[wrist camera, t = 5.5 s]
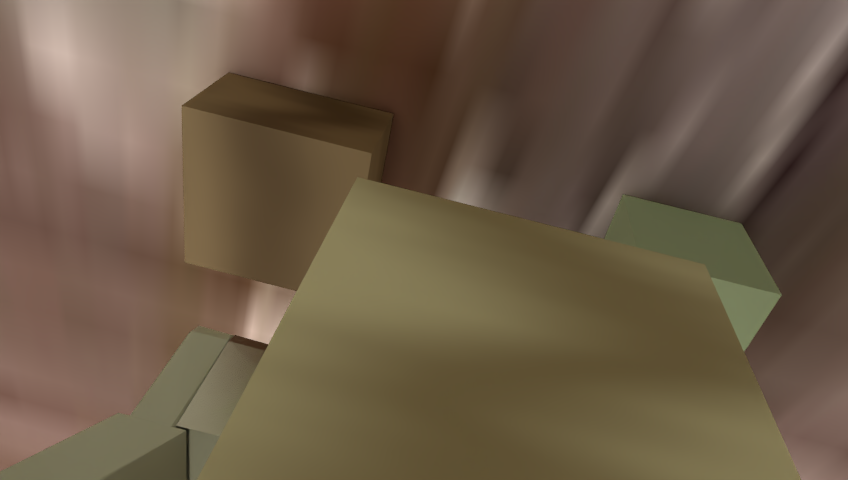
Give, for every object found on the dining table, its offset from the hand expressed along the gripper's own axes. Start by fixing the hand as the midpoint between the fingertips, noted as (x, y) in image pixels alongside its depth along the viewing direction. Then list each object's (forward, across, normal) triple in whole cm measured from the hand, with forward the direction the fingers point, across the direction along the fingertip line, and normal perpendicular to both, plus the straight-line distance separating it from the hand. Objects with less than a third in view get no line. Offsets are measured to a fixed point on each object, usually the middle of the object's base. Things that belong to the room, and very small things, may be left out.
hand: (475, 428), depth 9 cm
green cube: (+18, -9, +6) cm, 21 cm away
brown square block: (+18, +7, +6) cm, 20 cm away
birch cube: (+2, 0, 0) cm, 2 cm away
